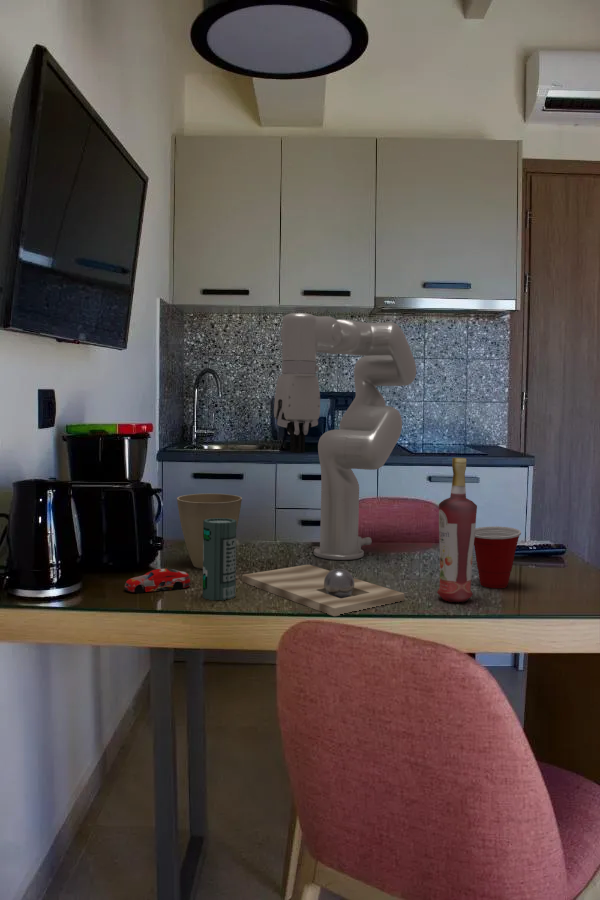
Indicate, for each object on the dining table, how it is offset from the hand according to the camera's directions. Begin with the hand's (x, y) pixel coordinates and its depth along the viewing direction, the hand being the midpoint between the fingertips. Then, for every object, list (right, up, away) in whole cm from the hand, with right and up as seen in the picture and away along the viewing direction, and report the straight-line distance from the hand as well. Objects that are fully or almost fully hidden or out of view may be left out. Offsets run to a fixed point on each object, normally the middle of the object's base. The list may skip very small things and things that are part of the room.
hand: (297, 452), depth 162 cm
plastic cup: (+42, -29, -7) cm, 51 cm away
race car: (-28, -28, -15) cm, 43 cm away
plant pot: (-21, -27, +6) cm, 34 cm away
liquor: (+31, -29, -19) cm, 47 cm away
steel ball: (+8, -26, -20) cm, 34 cm away
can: (-15, -28, -20) cm, 38 cm away
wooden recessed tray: (+5, -28, -14) cm, 32 cm away
